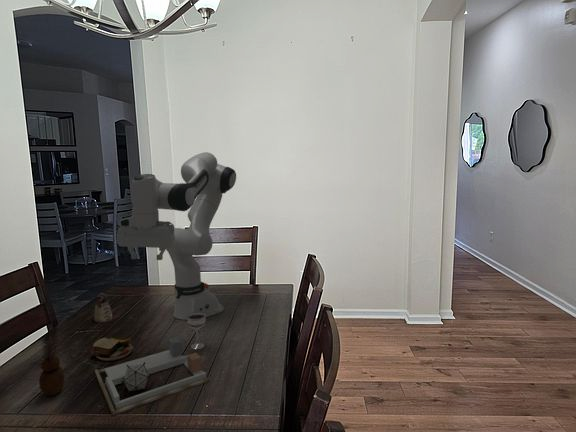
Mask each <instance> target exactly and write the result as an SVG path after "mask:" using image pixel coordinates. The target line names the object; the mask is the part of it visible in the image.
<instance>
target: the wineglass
mask: <svg viewBox="0 0 576 432" xmlns="http://www.w3.org/2000/svg"><path fill="white" fill-rule="evenodd" d="M205 315H206V314H205V313H202V312H195V313H191V314H189V315H188V316H187V317H188V320H187V325H188V327H189V328H190V329H192V330H195V332H196V333H195V336H196V342H195V343H193V344H191V345H190V348H191V349H193V350H201V349H203V348H204V347H205V343H202V342H199V330H200V329H202V328H203V327H204V326H205V325H206V324H207V323H206V322H207V317H206V318H205Z"/></svg>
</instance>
